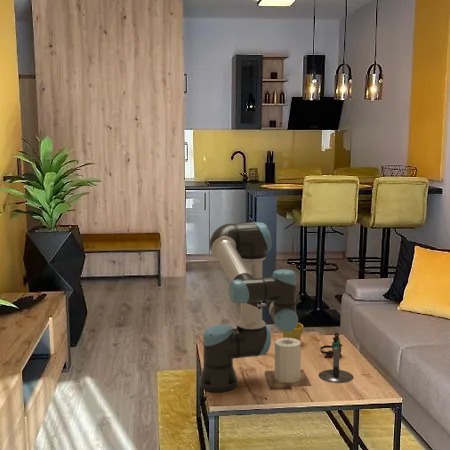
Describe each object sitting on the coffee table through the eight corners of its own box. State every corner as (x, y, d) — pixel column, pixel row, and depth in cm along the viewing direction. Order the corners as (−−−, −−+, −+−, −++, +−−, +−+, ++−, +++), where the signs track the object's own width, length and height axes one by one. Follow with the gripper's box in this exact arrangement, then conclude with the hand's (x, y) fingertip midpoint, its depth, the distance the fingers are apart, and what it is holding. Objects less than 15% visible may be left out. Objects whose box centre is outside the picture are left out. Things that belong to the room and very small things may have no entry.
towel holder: (323, 386, 232) (323, 354, 230) (315, 372, 245) (315, 342, 243) (358, 384, 233) (358, 353, 231) (347, 371, 246) (348, 341, 245)
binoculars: (320, 332, 267) (342, 332, 263) (322, 354, 268) (344, 354, 264) (317, 338, 258) (339, 338, 255) (319, 361, 259) (342, 362, 256)
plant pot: (307, 344, 279) (307, 324, 278) (294, 350, 271) (295, 330, 270) (289, 339, 286) (289, 320, 284) (276, 345, 278) (276, 325, 277)
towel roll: (277, 383, 232) (277, 346, 230) (273, 373, 242) (273, 338, 240) (302, 382, 233) (302, 345, 230) (297, 372, 242) (297, 337, 240)
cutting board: (270, 389, 229) (270, 386, 229) (264, 373, 245) (264, 370, 244) (311, 387, 230) (311, 384, 230) (302, 372, 246) (302, 369, 246)
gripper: (243, 320, 204) (237, 303, 225) (314, 318, 206) (301, 301, 227) (243, 299, 203) (237, 284, 224) (314, 297, 205) (301, 282, 226)
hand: (269, 293), depth 226 cm, fingers open, 13 cm apart
